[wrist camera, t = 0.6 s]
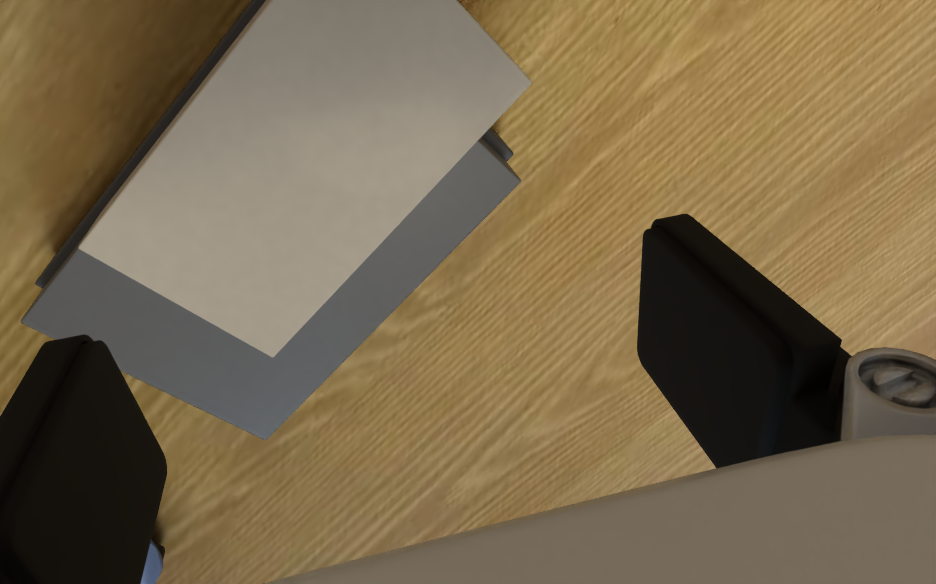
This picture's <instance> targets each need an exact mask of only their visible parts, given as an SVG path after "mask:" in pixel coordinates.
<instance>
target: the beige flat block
mask: <svg viewBox="0 0 936 584" xmlns="http://www.w3.org/2000/svg"><path fill="white" fill-rule="evenodd" d="M531 84H532V80H531V79H530V78H529V77H528V76H527V75H526V74H525V73H524V72H523V71H522V70H521V68H520V67H519V66H518V65H517V64H516V63H515V62H514V61H513V60H512V59H511V58H510V57H509V55H508V54H507V53H506V52H505V51H504V50H503V49H502V48H501V47H500V46H499V45H498V44H497V42H496V41H495V40H494V39H493V38H492V37H491V36H490V35H489V34H488V33H487V32H486V31H485V29H484V28H483V27H482V26H481V25H480V24H479V23H478V22H477V21H476V20H475V19H474V18H473V16H472V15H471V14H470V13H469V12H468V11H467V10H466V9H465V8H464V7H463V6H462V5H461V3H460V2H459V1H458V0H266V1H265V2H264V4H263V5H262V6H261V7H260V9H259V10H258V11H257V13H256V14H255V15H254V16H253V18H252V19H251V20H250V22H249V23H248V24H247V25H246V27H245V28H244V29H243V31H242V32H241V33H240V34H239V36H238V37H237V38H236V40H235V41H234V42H233V43H232V45H231V46H230V47H229V49H228V50H227V51H226V52H225V54H224V55H223V56H222V58H221V59H220V60H219V61H218V63H217V64H216V65H215V67H214V68H213V69H212V70H211V72H210V73H209V74H208V76H207V77H206V78H205V79H204V81H203V82H202V83H201V85H200V86H199V87H198V88H197V90H196V91H195V92H194V94H193V95H192V96H191V97H190V99H189V100H188V101H187V103H186V104H185V105H184V106H183V108H182V109H181V110H180V111H179V113H178V114H177V115H176V117H175V118H174V119H173V120H172V122H171V123H170V124H169V126H168V127H167V128H166V129H165V131H164V132H163V133H162V135H161V136H160V137H159V138H158V140H157V141H156V142H155V144H154V145H153V146H152V147H151V149H150V150H149V151H148V153H147V154H146V155H145V156H144V158H143V159H142V160H141V162H140V163H139V164H138V165H137V167H136V168H135V169H134V171H133V172H132V173H131V174H130V176H129V177H128V178H127V180H126V181H125V182H124V183H123V185H122V186H121V187H120V189H119V190H118V191H117V192H116V194H115V195H114V196H113V198H112V199H111V200H110V201H109V203H108V204H107V205H106V207H105V208H104V209H103V210H102V212H101V213H100V214H99V216H98V217H97V219H96V220H95V222H94V223H93V225H92V226H91V228H90V229H89V231H88V232H87V234H86V235H85V237H84V238H83V240H82V241H81V243H80V244H79V246H78V248H79V249H80V250H82V251H84V252H85V253H87V254H89V255H91V256H93V257H94V258H96V259H98V260H100V261H101V262H103V263H105V264H107V265H109V266H110V267H112V268H114V269H116V270H117V271H119V272H121V273H123V274H125V275H126V276H128V277H130V278H132V279H133V280H135V281H137V282H139V283H141V284H142V285H144V286H146V287H148V288H149V289H151V290H153V291H155V292H157V293H158V294H160V295H162V296H164V297H165V298H167V299H169V300H171V301H173V302H174V303H176V304H178V305H180V306H182V307H183V308H185V309H187V310H189V311H190V312H192V313H194V314H196V315H198V316H199V317H201V318H203V319H205V320H206V321H208V322H210V323H212V324H214V325H215V326H217V327H219V328H221V329H222V330H224V331H226V332H228V333H230V334H231V335H233V336H235V337H237V338H238V339H240V340H242V341H244V342H246V343H247V344H249V345H251V346H253V347H254V348H256V349H258V350H260V351H262V352H263V353H265V354H267V355H269V356H270V357H274V356H275V355H276V354H277V353H278V352H279V351H280V350H281V349H282V348H283V347H284V346H285V345H286V344H287V342H288V341H289V340H290V339H291V338H292V337H293V336H294V335H295V334H296V333H297V332H298V331H299V330H300V329H301V328H302V327H303V326H304V324H305V323H306V322H307V321H308V320H309V319H310V318H311V317H312V316H313V315H314V314H315V313H316V312H317V311H318V310H319V309H320V307H321V306H322V305H323V304H324V303H325V302H326V301H327V300H328V299H329V298H330V297H331V296H332V295H333V294H334V293H335V292H336V290H337V289H338V288H339V287H340V286H341V285H342V284H343V283H344V282H345V281H346V280H347V279H348V278H349V277H350V276H351V275H352V274H353V272H354V271H355V270H356V269H357V268H358V267H359V266H360V265H361V264H362V263H363V262H364V261H365V260H366V259H367V258H368V257H369V255H370V254H371V253H372V252H373V251H374V250H375V249H376V248H377V247H378V246H379V245H380V244H381V243H382V242H383V241H384V240H385V239H386V237H387V236H388V235H389V234H390V233H391V232H392V231H393V230H394V229H395V228H396V227H397V226H398V225H399V224H400V223H401V222H402V220H403V219H404V218H405V217H406V216H407V215H408V214H409V213H410V212H411V211H412V210H413V209H414V208H415V207H416V206H417V205H418V204H419V202H420V201H421V200H422V199H423V198H424V197H425V196H426V195H427V194H428V193H429V192H430V191H431V190H432V189H433V188H434V187H435V185H436V184H437V183H438V182H439V181H440V180H441V179H442V178H443V177H444V176H445V175H446V174H447V173H448V172H449V171H450V170H451V168H452V167H453V166H454V165H455V164H456V163H457V162H458V161H459V160H460V159H461V158H462V157H463V156H464V155H465V154H466V153H467V152H468V150H469V149H470V148H471V147H472V146H473V145H474V144H475V143H476V142H477V141H478V140H479V139H480V138H481V137H482V136H483V135H484V133H485V132H486V131H487V130H488V129H489V128H490V127H491V126H492V125H493V124H494V123H495V122H496V121H497V120H498V119H499V118H500V117H501V115H502V114H503V113H504V112H505V111H506V110H507V109H508V108H509V107H510V106H511V105H512V104H513V103H514V102H515V101H516V100H517V98H518V97H519V96H520V95H521V94H522V93H523V92H524V91H525V90H526V89H527V88H528V87H529V86H530V85H531Z"/></svg>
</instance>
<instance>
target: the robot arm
mask: <svg viewBox="0 0 936 584" xmlns="http://www.w3.org/2000/svg"><path fill="white" fill-rule="evenodd" d="M841 341H842V340H841V339H840V338H839V337H838V336H837V335H835V334H834V333H833V332H832V331H830V330H829V329H828V328H827V327H826V326H824V325H823V324H822V323H821V322H819V321H818V320H817V319H816V318H815V317H813V316H812V315H811V314H810V313H808V312H807V311H806V310H805V309H804V308H802V307H801V306H800V305H799V304H797V303H796V302H795V301H794V300H793V299H791V298H790V297H789V296H788V295H787V294H785V293H784V292H783V291H782V290H780V289H779V288H778V287H777V286H776V285H774V284H773V283H772V282H771V281H769V280H768V279H767V278H766V277H765V276H763V275H762V274H761V273H760V272H758V271H757V270H756V269H755V268H754V267H752V266H751V265H750V264H749V263H747V262H746V261H745V260H744V259H743V258H741V257H740V256H739V255H738V254H737V253H735V252H734V251H733V250H732V249H730V248H729V247H728V246H727V245H726V244H724V243H723V242H722V241H721V240H719V239H718V238H717V237H716V236H715V235H713V234H712V233H711V232H710V231H708V230H707V229H706V228H705V227H704V226H702V225H701V224H700V223H699V222H697V221H696V220H695V219H694V218H693V217H691V216H690V215H688V214H681V215H676V216H671V217H666V218H661V219H656V220H655V221H654V222H653V224H652V226H651V229H647V230H646V231H645V232H644V234H643V245H642V264H641V283H640V302H639V320H638V339H637V351H638V356H639V359H640V362H641V364H642V366H643V367H644V369H645V370H646V371H647V373H648V374H649V375H650V377H651V378H652V380H653V381H654V382H655V384H656V385H657V387H658V388H659V389H660V391H661V392H662V393H663V395H664V396H665V398H666V399H667V400H668V402H669V403H670V404H671V406H672V407H673V409H674V410H675V411H676V413H677V414H678V416H679V417H680V418H681V420H682V421H683V422H684V424H685V425H686V427H687V428H688V429H689V431H690V432H691V434H692V435H693V436H694V438H695V439H696V440H697V442H698V443H699V445H700V446H701V447H702V449H703V450H704V451H705V453H706V454H707V456H708V457H709V458H710V460H711V461H712V463H713V464H714V465H715V467H716V468H717V469H713V470H708V471H704V472H700V473H695V474H691V475H687V476H683V477H679V478H675V479H671V480H667V481H663V482H659V483H655V484H651V485H647V486H643V487H639V488H635V489H631V490H627V491H623V492H619V493H615V494H611V495H607V496H603V497H599V498H595V499H591V500H587V501H583V502H579V503H575V504H571V505H567V506H563V507H559V508H555V509H551V510H547V511H543V512H539V513H535V514H532V515H528V516H524V517H520V518H516V519H512V520H508V521H504V522H500V523H496V524H492V525H488V526H485V527H481V528H477V529H473V530H469V531H465V532H461V533H457V534H453V535H449V536H445V537H441V538H438V539H434V540H430V541H426V542H422V543H418V544H414V545H410V546H406V547H402V548H399V549H395V550H391V551H387V552H383V553H379V554H375V555H371V556H367V557H364V558H360V559H356V560H352V561H348V562H344V563H340V564H336V565H333V566H329V567H325V568H321V569H317V570H314V571H310V572H306V573H302V574H298V575H294V576H291V577H287V578H283V579H279V580H275V581H271V582H268V583H264V584H936V360H935V359H932V358H930V357H928V356H925V355H923V354H920V353H916V352H912V351H908V350H905V349H897V348H887V347H884V348H870V349H867V350H864V351H860V352H857V353H856V354H855V355H853V356H851V355H849V354H848V353H847V352H846V351H845V350H843V349H842V348H841V347H840V345H841ZM166 476H167V464H166V459H165V456H164V453H163V451H162V449H161V447H160V446H159V444H158V442H157V440H156V438H155V436H154V434H153V432H152V430H151V428H150V427H149V425H148V423H147V421H146V419H145V417H144V415H143V413H142V411H141V409H140V407H139V406H138V404H137V402H136V400H135V398H134V396H133V394H132V392H131V390H130V388H129V387H128V385H127V383H126V381H125V379H124V377H123V375H122V373H121V371H120V369H119V367H118V366H117V364H116V362H115V360H114V358H113V356H112V354H111V352H110V350H109V348H108V347H107V345H106V344H105V343H104V342H103V341H101V340H97V341H94V340H93V339H92V338H91V337H90V336H89V335H85V334H83V335H78V336H73V337H68V338H63V339H58V340H53V341H48V342H45V343H44V344H43V346H42V347H41V349H40V350H39V352H38V354H37V355H36V357H35V359H34V360H33V362H32V364H31V365H30V367H29V369H28V371H27V372H26V374H25V376H24V377H23V379H22V381H21V382H20V384H19V386H18V387H17V389H16V391H15V393H14V394H13V396H12V398H11V399H10V401H9V403H8V404H7V406H6V408H5V409H4V411H3V413H2V414H1V416H0V584H141V580H142V576H143V571H144V567H145V563H146V559H147V555H148V551H149V547H150V542H151V538H152V534H153V530H154V526H155V522H156V518H157V514H158V509H159V505H160V501H161V497H162V493H163V489H164V485H165V480H166Z"/></svg>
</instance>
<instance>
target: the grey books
mask: <svg viewBox="0 0 936 584" xmlns="http://www.w3.org/2000/svg"><path fill="white" fill-rule="evenodd" d="M265 1H266V0H251V2H250V3H249V4H248V6H247V7H246V8H245V9H244V11H243V12H242V13H241V15H240V16H239V17H238V19H237V20H236V21H235V22H234V24H233V25H232V26H231V28H230V29H229V30H228V31H227V33H226V34H225V35H224V37H223V38H222V39H221V41H220V42H219V43H218V44H217V46H216V47H215V48H214V50H213V51H212V52H211V53H210V55H209V56H208V57H207V59H206V60H205V61H204V63H203V64H202V65H201V66H200V68H199V69H198V70H197V72H196V73H195V74H194V76H193V77H192V78H191V79H190V81H189V82H188V83H187V85H186V86H185V87H184V88H183V90H182V91H181V92H180V94H179V95H178V96H177V98H176V99H175V100H174V101H173V103H172V104H171V105H170V107H169V108H168V109H167V111H166V112H165V113H164V114H163V116H162V117H161V118H160V120H159V121H158V122H157V123H156V125H155V126H154V127H153V129H152V130H151V131H150V133H149V134H148V135H147V136H146V138H145V139H144V140H143V142H142V143H141V144H140V145H139V147H138V148H137V149H136V151H135V152H134V153H133V155H132V156H131V157H130V158H129V160H128V161H127V162H126V164H125V165H124V166H123V168H122V169H121V170H120V171H119V173H118V174H117V175H116V177H115V178H114V179H113V180H112V182H111V183H110V184H109V186H108V187H107V188H106V190H105V191H104V192H103V193H102V195H101V196H100V197H99V199H98V200H97V201H96V203H95V204H94V205H93V206H92V208H91V209H90V210H89V212H88V213H87V214H86V215H85V217H84V218H83V219H82V221H81V222H80V223H79V225H78V226H77V227H76V228H75V230H74V231H73V232H72V234H71V235H70V236H69V237H68V239H67V240H66V241H65V243H64V244H63V245H62V247H61V248H60V249H59V250H58V252H57V253H56V254H55V256H54V257H53V258H52V260H51V261H50V263H49V264H48V265H47V267H46V268H45V270H44V271H43V272H42V274H41V275H40V277H39V278H38V279H37V281H36V283H35V284H36V285H37V286H39V287H41V288H43V289H42V290H41V292H40V293H39V295H38V296H37V298H36V299H35V301H34V302H33V303H32V305H31V306H30V308H29V309H28V311H27V312H26V314H25V315H24V317H23V318H22V319H21V323H23V324H25V325H27V326H29V327H31V328H33V329H35V330H37V331H39V332H41V333H43V334H45V335H48V336H50V337H52V338H54V339H56V340H58V339H63V338H68V337H73V336H78V335H83V334H85V335H89V336H90V337H91V338H92V339H93V340H94V341H97V340H101V341H103V342H104V343H105V344H106V345H107V347H108V348H109V350H110V352H111V354H112V356H113V358H114V360H115V362H116V364H117V366H118V367H119V369H120V371H122V372H124V373H126V374H129V375H131V376H133V377H135V378H137V379H139V380H141V381H143V382H145V383H147V384H149V385H151V386H153V387H156V388H158V389H160V390H162V391H164V392H166V393H168V394H170V395H172V396H174V397H176V398H178V399H180V400H183V401H185V402H187V403H189V404H191V405H193V406H195V407H197V408H199V409H201V410H203V411H205V412H207V413H210V414H212V415H214V416H216V417H218V418H220V419H222V420H224V421H226V422H228V423H230V424H232V425H234V426H237V427H239V428H241V429H243V430H245V431H247V432H249V433H251V434H253V435H255V436H257V437H259V438H261V439H264V440H267V439H268V438H269V437H270V436H271V435H272V434H273V433H274V432H275V431H276V430H277V429H278V428H279V427H280V426H281V425H282V424H283V423H284V422H285V421H286V420H287V418H288V417H289V416H290V415H291V414H292V413H293V412H294V411H295V410H296V409H297V408H298V407H299V406H300V405H301V404H302V403H303V402H304V401H305V400H306V399H307V398H308V397H309V396H310V395H311V394H312V393H313V392H314V391H315V390H316V389H317V388H318V387H319V386H320V385H321V384H322V383H323V382H324V381H325V380H326V379H327V378H328V377H329V376H330V375H331V374H332V373H333V372H334V371H335V370H336V369H337V368H338V367H339V366H340V365H341V364H342V363H343V362H344V361H345V360H346V359H347V358H348V357H349V356H350V355H351V354H352V353H353V352H354V350H355V349H356V348H357V347H358V346H359V345H360V344H361V343H362V342H363V341H364V340H365V339H366V338H367V337H368V336H369V335H370V334H371V333H372V332H373V331H374V330H375V329H376V328H377V327H378V326H379V325H380V324H381V323H382V322H383V321H384V320H385V319H386V318H387V317H388V316H389V315H390V314H391V313H392V312H393V311H394V310H395V309H396V308H397V307H398V306H399V305H400V304H401V303H402V302H403V301H404V300H405V299H406V298H407V297H408V296H409V295H410V294H411V293H412V292H413V291H414V290H415V289H416V288H417V287H418V286H419V285H420V284H421V282H422V281H423V280H424V279H425V278H426V277H427V276H428V275H429V274H430V273H431V272H432V271H433V270H434V269H435V268H436V267H437V266H438V265H439V264H440V263H441V262H442V261H443V260H444V259H445V258H446V257H447V256H448V255H449V254H450V253H451V252H452V251H453V250H454V249H455V248H456V247H457V246H458V245H459V244H460V243H461V242H462V241H463V240H464V239H465V238H466V237H467V236H468V235H469V234H470V233H471V232H472V231H473V230H474V229H475V228H476V227H477V226H478V225H479V224H480V223H481V222H482V221H483V220H484V219H485V218H486V217H487V216H488V214H489V213H490V212H491V211H492V210H493V209H494V208H495V207H496V206H497V205H498V204H499V203H500V202H501V201H502V200H503V199H504V198H505V197H506V196H507V195H508V194H509V193H510V192H511V191H512V190H513V189H514V188H515V187H516V186H517V185H518V184H519V183H520V182H521V180H520V178H519V177H518V176H517V175H516V173H515V172H514V171H513V169H512V168H511V167H510V166H509V164H508V163H507V161H508V160H509V159H510V158H511V157H512V156H513V152H512V151H511V149H510V148H509V147H508V146H507V145H506V143H505V142H504V141H503V140H502V139H501V138H500V136H499V135H498V134H497V133H496V132H495V131H494V130H493V129H492V128H491V127H490V128H489V129H488V130H487V131H486V132H485V133H484V135H483V136H482V137H481V138H480V139H479V140H478V141H477V142H476V143H475V144H474V145H473V146H472V147H471V148H470V149H469V150H468V152H467V153H466V154H465V155H464V156H463V157H462V158H461V159H460V160H459V161H458V162H457V163H456V164H455V165H454V166H453V167H452V168H451V170H450V171H449V172H448V173H447V174H446V175H445V176H444V177H443V178H442V179H441V180H440V181H439V182H438V183H437V184H436V185H435V187H434V188H433V189H432V190H431V191H430V192H429V193H428V194H427V195H426V196H425V197H424V198H423V199H422V200H421V201H420V202H419V204H418V205H417V206H416V207H415V208H414V209H413V210H412V211H411V212H410V213H409V214H408V215H407V216H406V217H405V218H404V219H403V220H402V222H401V223H400V224H399V225H398V226H397V227H396V228H395V229H394V230H393V231H392V232H391V233H390V234H389V235H388V236H387V237H386V239H385V240H384V241H383V242H382V243H381V244H380V245H379V246H378V247H377V248H376V249H375V250H374V251H373V252H372V253H371V254H370V255H369V257H368V258H367V259H366V260H365V261H364V262H363V263H362V264H361V265H360V266H359V267H358V268H357V269H356V270H355V271H354V272H353V274H352V275H351V276H350V277H349V278H348V279H347V280H346V281H345V282H344V283H343V284H342V285H341V286H340V287H339V288H338V289H337V290H336V292H335V293H334V294H333V295H332V296H331V297H330V298H329V299H328V300H327V301H326V302H325V303H324V304H323V305H322V306H321V307H320V309H319V310H318V311H317V312H316V313H315V314H314V315H313V316H312V317H311V318H310V319H309V320H308V321H307V322H306V323H305V324H304V326H303V327H302V328H301V329H300V330H299V331H298V332H297V333H296V334H295V335H294V336H293V337H292V338H291V339H290V340H289V341H288V342H287V344H286V345H285V346H284V347H283V348H282V349H281V350H280V351H279V352H278V353H277V354H276V355H275V356H274V357H270V356H269V355H267V354H265V353H263V352H262V351H260V350H258V349H256V348H254V347H253V346H251V345H249V344H247V343H246V342H244V341H242V340H240V339H238V338H237V337H235V336H233V335H231V334H230V333H228V332H226V331H224V330H222V329H221V328H219V327H217V326H215V325H214V324H212V323H210V322H208V321H206V320H205V319H203V318H201V317H199V316H198V315H196V314H194V313H192V312H190V311H189V310H187V309H185V308H183V307H182V306H180V305H178V304H176V303H174V302H173V301H171V300H169V299H167V298H165V297H164V296H162V295H160V294H158V293H157V292H155V291H153V290H151V289H149V288H148V287H146V286H144V285H142V284H141V283H139V282H137V281H135V280H133V279H132V278H130V277H128V276H126V275H125V274H123V273H121V272H119V271H117V270H116V269H114V268H112V267H110V266H109V265H107V264H105V263H103V262H101V261H100V260H98V259H96V258H94V257H93V256H91V255H89V254H87V253H85V252H84V251H82V250H80V249H79V248H78V246H79V244H80V243H81V241H82V240H83V238H84V237H85V235H86V234H87V232H88V231H89V229H90V228H91V226H92V225H93V223H94V222H95V220H96V219H97V217H98V216H99V214H100V213H101V212H102V210H103V209H104V208H105V207H106V205H107V204H108V203H109V201H110V200H111V199H112V198H113V196H114V195H115V194H116V192H117V191H118V190H119V189H120V187H121V186H122V185H123V183H124V182H125V181H126V180H127V178H128V177H129V176H130V174H131V173H132V172H133V171H134V169H135V168H136V167H137V165H138V164H139V163H140V162H141V160H142V159H143V158H144V156H145V155H146V154H147V153H148V151H149V150H150V149H151V147H152V146H153V145H154V144H155V142H156V141H157V140H158V138H159V137H160V136H161V135H162V133H163V132H164V131H165V129H166V128H167V127H168V126H169V124H170V123H171V122H172V120H173V119H174V118H175V117H176V115H177V114H178V113H179V111H180V110H181V109H182V108H183V106H184V105H185V104H186V103H187V101H188V100H189V99H190V97H191V96H192V95H193V94H194V92H195V91H196V90H197V88H198V87H199V86H200V85H201V83H202V82H203V81H204V79H205V78H206V77H207V76H208V74H209V73H210V72H211V70H212V69H213V68H214V67H215V65H216V64H217V63H218V61H219V60H220V59H221V58H222V56H223V55H224V54H225V52H226V51H227V50H228V49H229V47H230V46H231V45H232V43H233V42H234V41H235V40H236V38H237V37H238V36H239V34H240V33H241V32H242V31H243V29H244V28H245V27H246V25H247V24H248V23H249V22H250V20H251V19H252V18H253V16H254V15H255V14H256V13H257V11H258V10H259V9H260V7H261V6H262V5H263V4H264V2H265Z"/></svg>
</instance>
